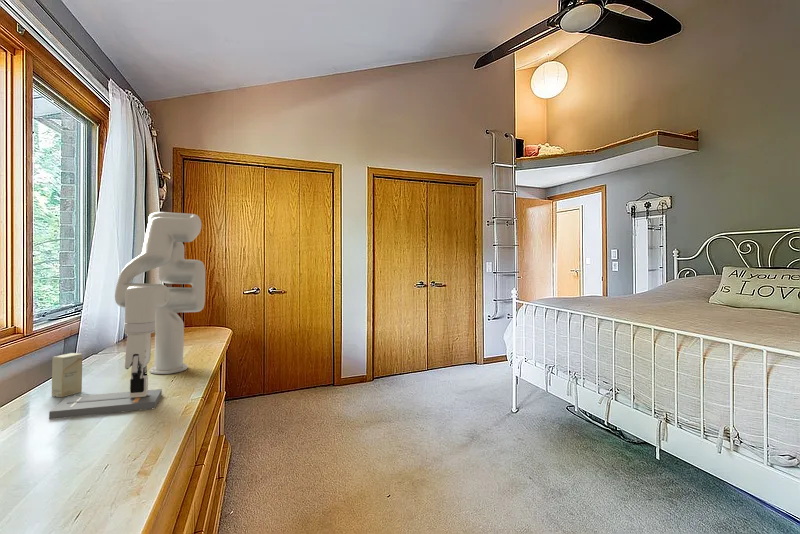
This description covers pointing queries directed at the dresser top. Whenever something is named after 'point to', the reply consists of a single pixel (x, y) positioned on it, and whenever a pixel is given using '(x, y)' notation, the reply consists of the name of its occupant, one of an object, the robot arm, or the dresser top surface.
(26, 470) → the dresser top surface
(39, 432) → the dresser top surface
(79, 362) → the skincare box
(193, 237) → the robot arm
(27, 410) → the dresser top surface
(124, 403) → the fader board
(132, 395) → the fader tab
